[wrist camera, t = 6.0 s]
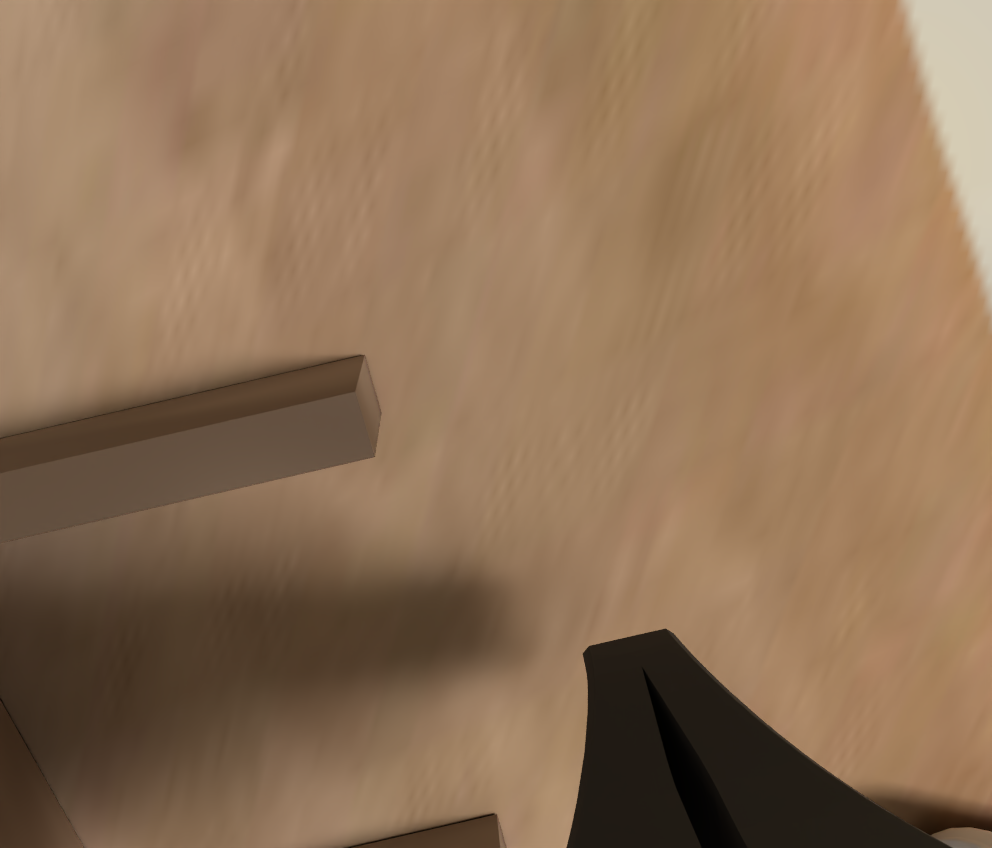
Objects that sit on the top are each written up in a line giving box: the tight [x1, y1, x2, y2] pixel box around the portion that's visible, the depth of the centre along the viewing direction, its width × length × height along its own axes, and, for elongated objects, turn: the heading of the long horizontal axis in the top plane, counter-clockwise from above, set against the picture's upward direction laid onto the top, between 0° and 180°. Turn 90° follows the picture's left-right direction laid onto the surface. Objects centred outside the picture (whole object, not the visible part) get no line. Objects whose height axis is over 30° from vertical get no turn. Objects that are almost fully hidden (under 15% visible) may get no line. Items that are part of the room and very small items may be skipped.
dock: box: [0, 355, 506, 848], centre depth 12 cm, size 11×9×5 cm
